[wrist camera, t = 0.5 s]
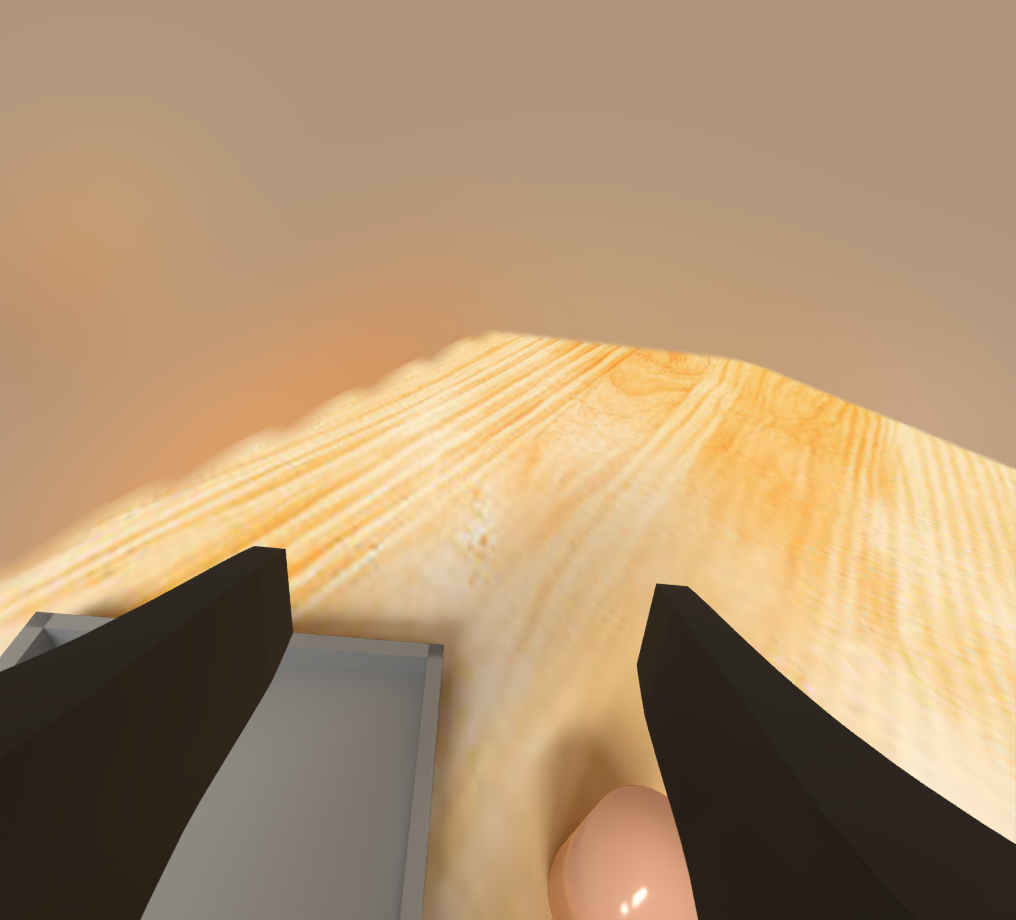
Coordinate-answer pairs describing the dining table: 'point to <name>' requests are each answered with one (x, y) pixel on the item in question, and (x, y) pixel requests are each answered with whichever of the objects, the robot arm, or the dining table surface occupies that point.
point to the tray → (306, 786)
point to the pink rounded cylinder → (623, 863)
